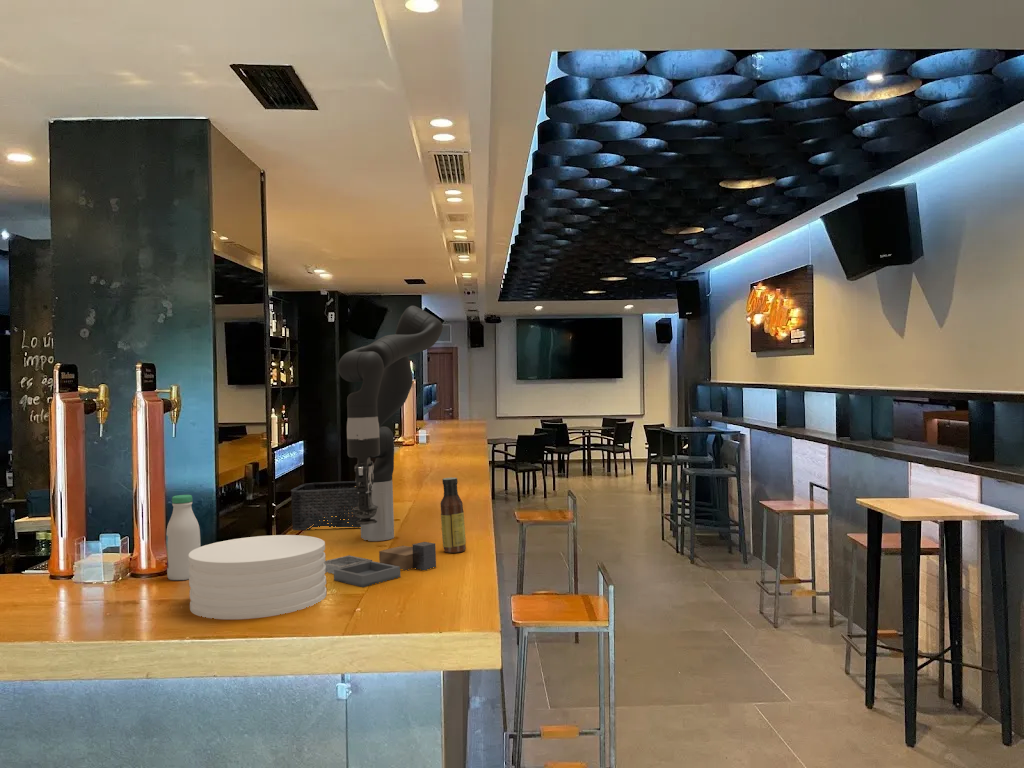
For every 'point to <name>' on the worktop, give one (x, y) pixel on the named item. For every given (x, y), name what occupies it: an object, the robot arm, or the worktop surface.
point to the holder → (343, 562)
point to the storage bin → (324, 505)
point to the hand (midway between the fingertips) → (365, 507)
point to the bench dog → (424, 555)
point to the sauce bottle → (452, 518)
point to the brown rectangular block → (398, 557)
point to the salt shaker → (366, 511)
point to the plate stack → (257, 576)
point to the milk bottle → (181, 537)
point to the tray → (366, 573)
